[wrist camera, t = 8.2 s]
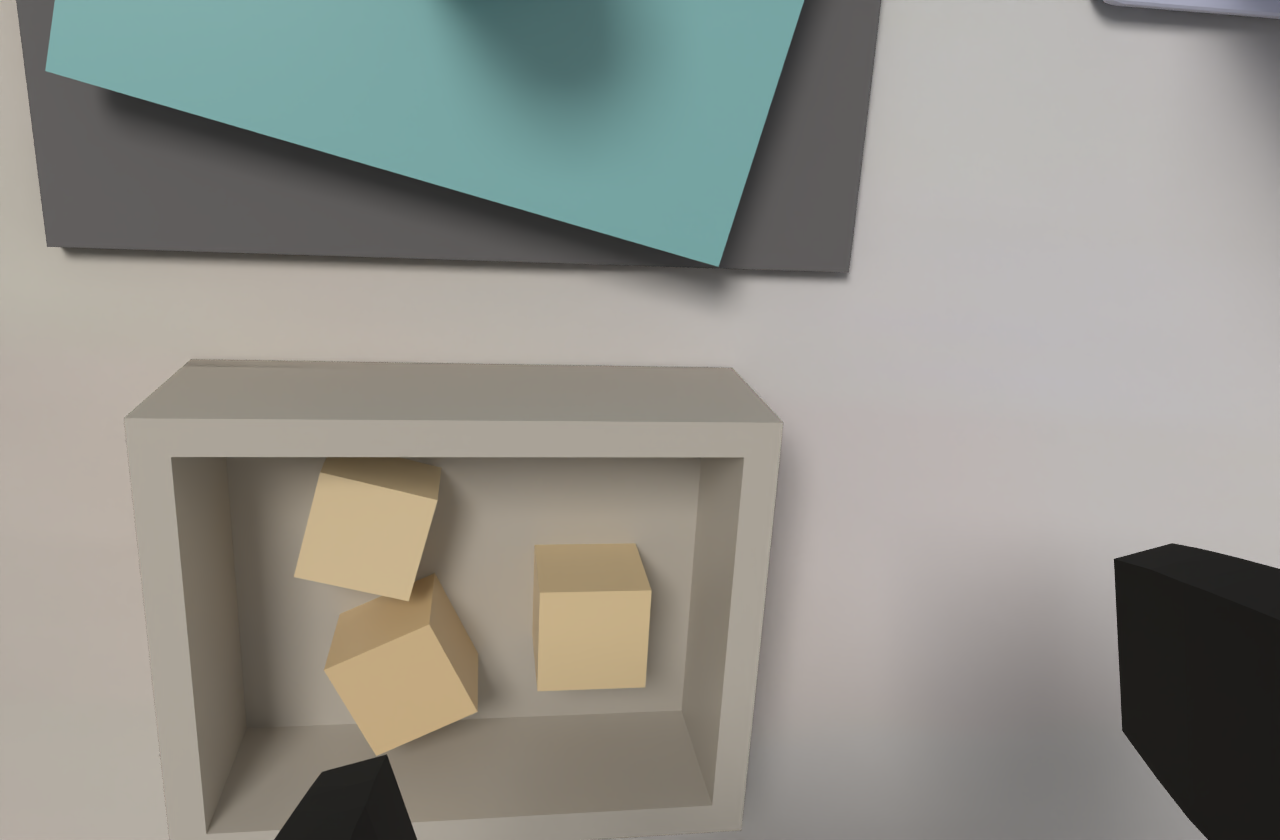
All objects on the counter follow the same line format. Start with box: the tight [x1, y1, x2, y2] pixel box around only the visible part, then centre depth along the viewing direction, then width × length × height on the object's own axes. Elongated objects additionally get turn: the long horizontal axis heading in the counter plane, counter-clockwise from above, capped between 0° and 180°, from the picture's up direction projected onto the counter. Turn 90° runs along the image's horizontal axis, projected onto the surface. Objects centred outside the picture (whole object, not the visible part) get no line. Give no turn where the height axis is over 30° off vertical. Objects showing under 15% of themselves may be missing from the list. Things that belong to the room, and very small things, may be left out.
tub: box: [124, 359, 783, 840], centre depth 18 cm, size 10×8×4 cm
